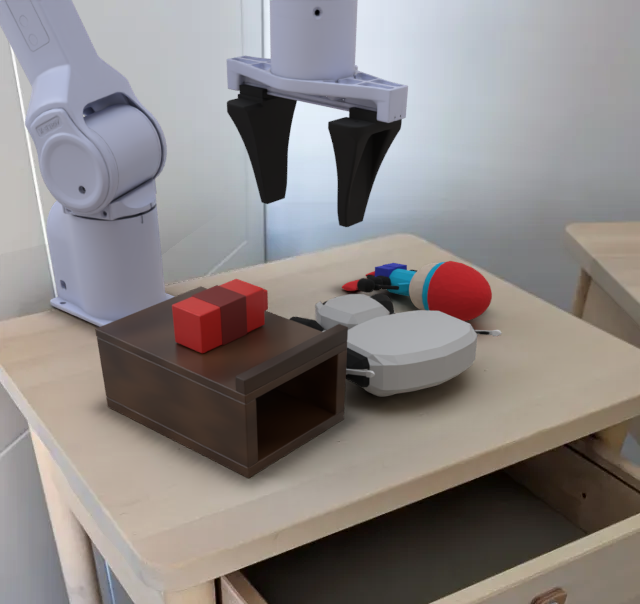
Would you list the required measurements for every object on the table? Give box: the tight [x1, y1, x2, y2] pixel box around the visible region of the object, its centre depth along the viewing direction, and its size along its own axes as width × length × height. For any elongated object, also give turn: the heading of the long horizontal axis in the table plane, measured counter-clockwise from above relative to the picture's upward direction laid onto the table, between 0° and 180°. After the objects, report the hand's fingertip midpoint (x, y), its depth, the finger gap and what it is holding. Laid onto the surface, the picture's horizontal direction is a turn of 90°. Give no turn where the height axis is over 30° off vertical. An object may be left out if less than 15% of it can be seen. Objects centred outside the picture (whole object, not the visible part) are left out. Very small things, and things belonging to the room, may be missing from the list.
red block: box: [172, 278, 269, 353], centre depth 57 cm, size 3×7×3 cm, turn 140°
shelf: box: [94, 285, 348, 479], centre depth 59 cm, size 14×10×7 cm
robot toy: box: [288, 293, 503, 398], centre depth 66 cm, size 12×4×15 cm
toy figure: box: [341, 260, 493, 322], centre depth 75 cm, size 8×5×15 cm
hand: (311, 211), depth 64 cm, fingers open, 7 cm apart
